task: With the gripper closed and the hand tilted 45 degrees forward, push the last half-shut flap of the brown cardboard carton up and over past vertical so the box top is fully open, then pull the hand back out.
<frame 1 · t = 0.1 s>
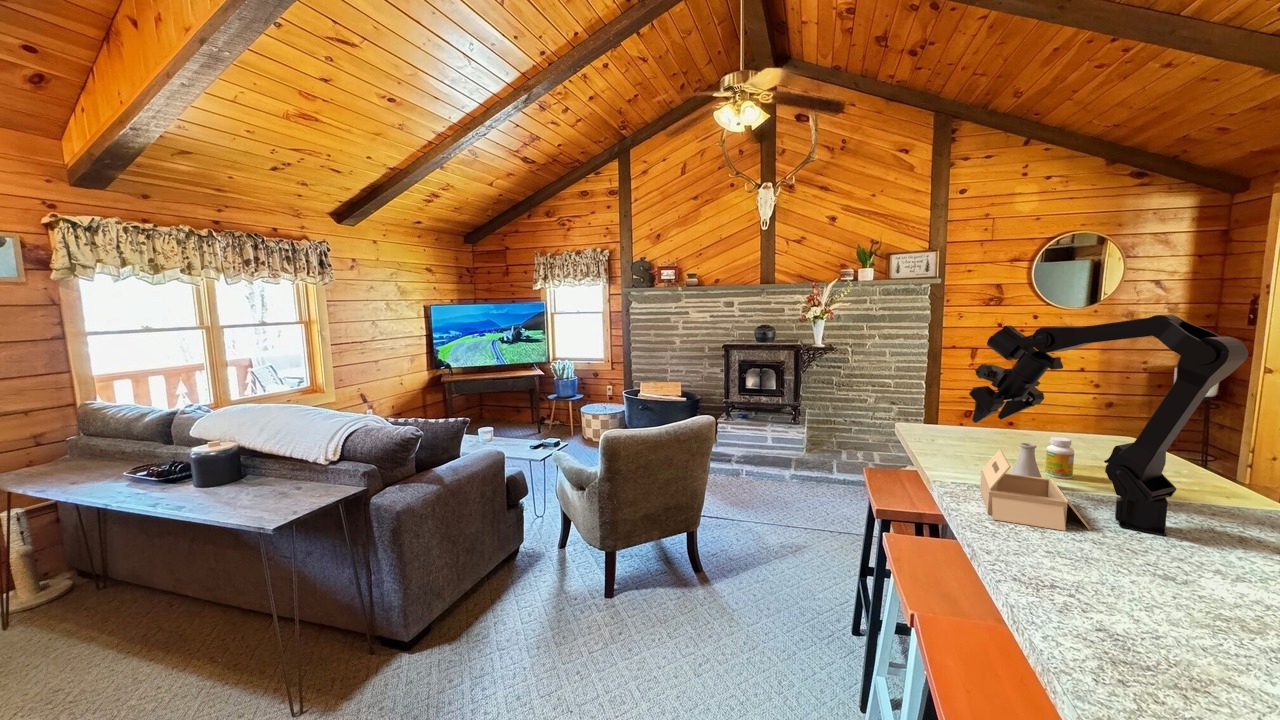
hand: (986, 419, 125), 15 cm above the counter, tool tilted 35°, fingers open, 9 cm apart
foam post: (992, 494, 115), resting in carton
flask: (1025, 484, 121), on the counter
carton: (1019, 507, 108), on the counter
supplement bottle: (1058, 476, 126), on the counter
far flap: (995, 468, 109), point 8 cm above the counter, hinge at -30.0°
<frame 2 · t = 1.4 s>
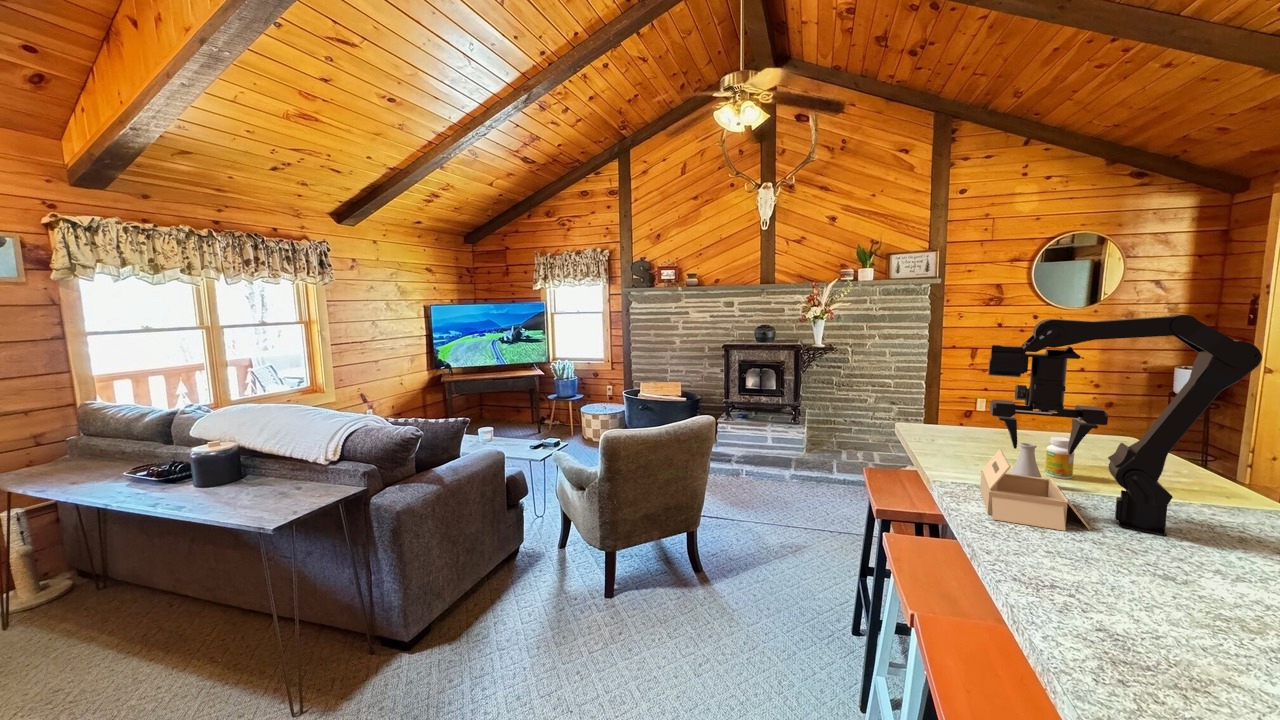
hand: (1041, 451, 105), 13 cm above the counter, tool pointing down, fingers open, 9 cm apart
nothing on the counter moved.
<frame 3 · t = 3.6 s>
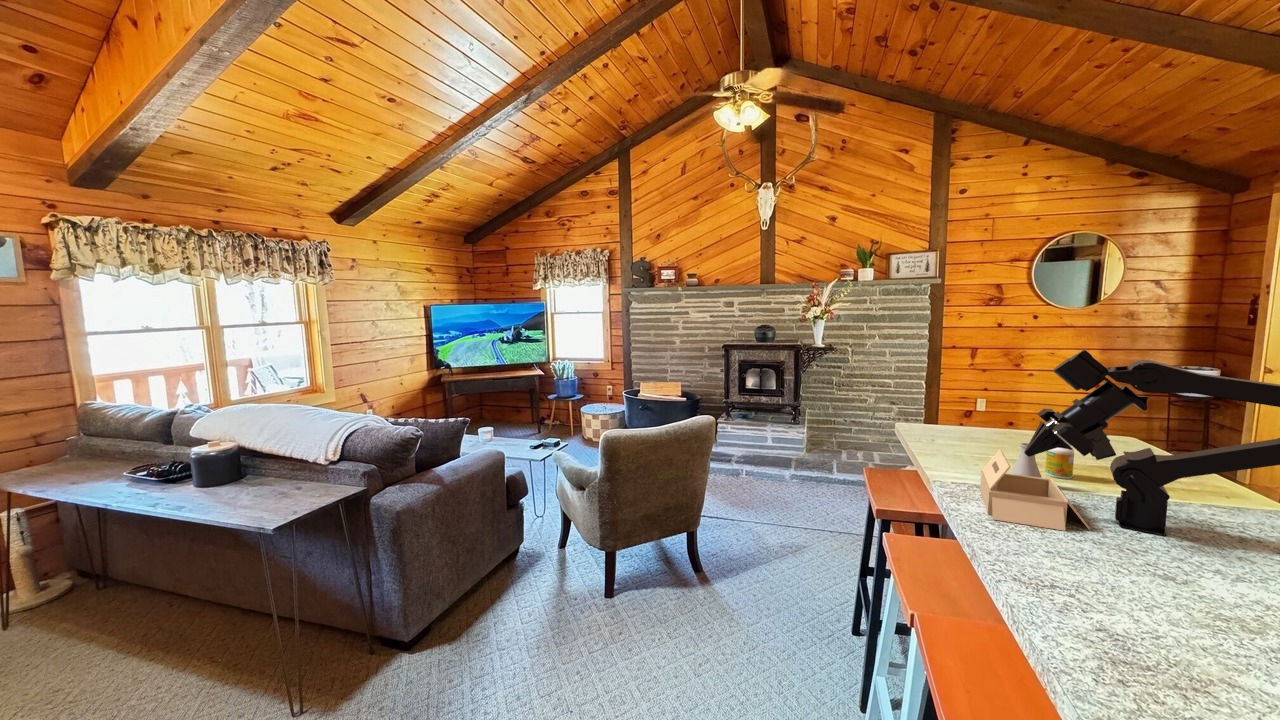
hand: (1026, 454, 106), 12 cm above the counter, tool tilted 45°, fingers closed
nothing on the counter moved.
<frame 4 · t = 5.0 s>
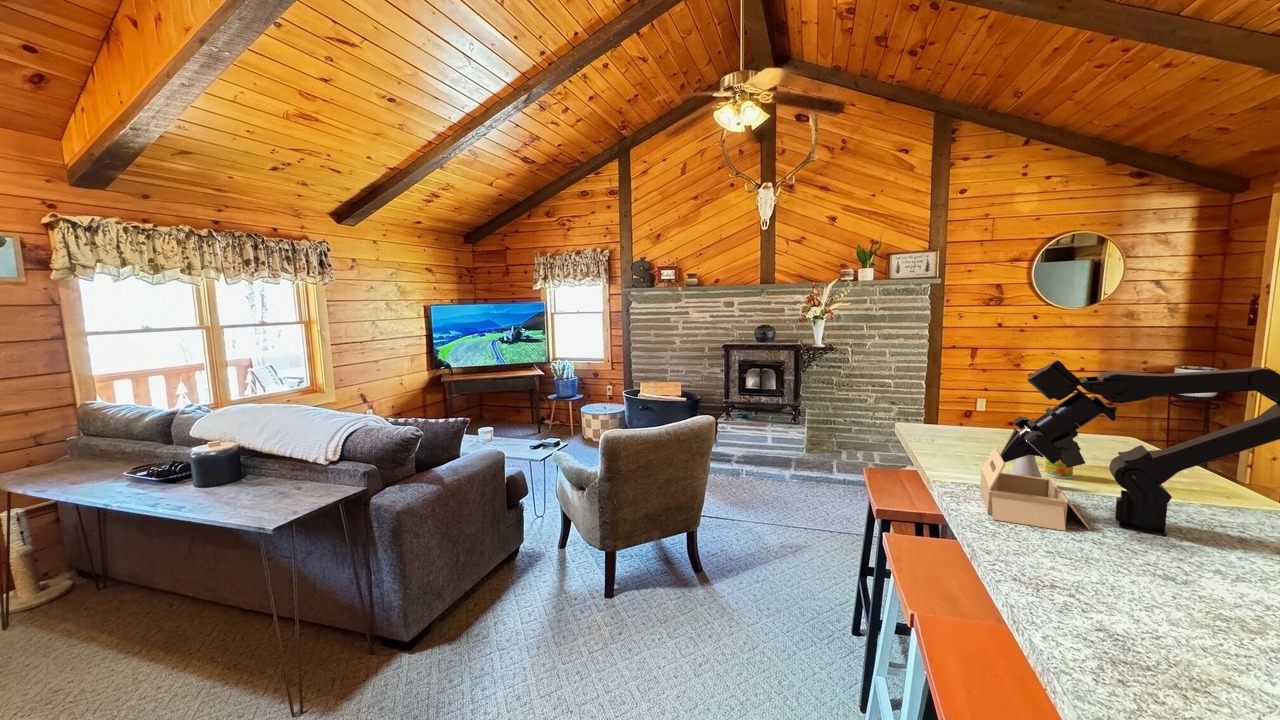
hand: (999, 461, 109), 10 cm above the counter, tool tilted 45°, fingers closed, pressing on far flap
far flap: (992, 467, 109), point 8 cm above the counter, hinge at -20.8°, touching gripper
everything else where it was.
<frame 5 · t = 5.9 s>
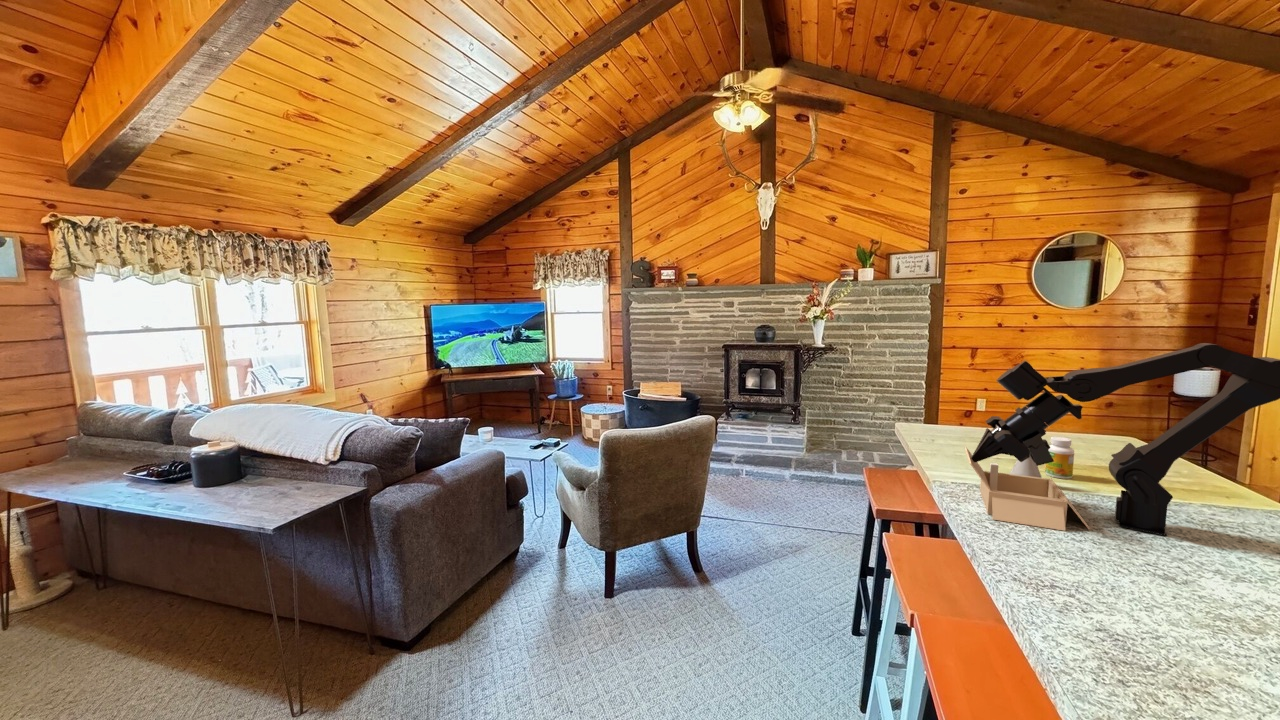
hand: (972, 460, 111), 9 cm above the counter, tool tilted 45°, fingers closed, pressing on far flap
far flap: (976, 466, 111), point 8 cm above the counter, hinge at 34.9°, touching gripper
everything else where it was.
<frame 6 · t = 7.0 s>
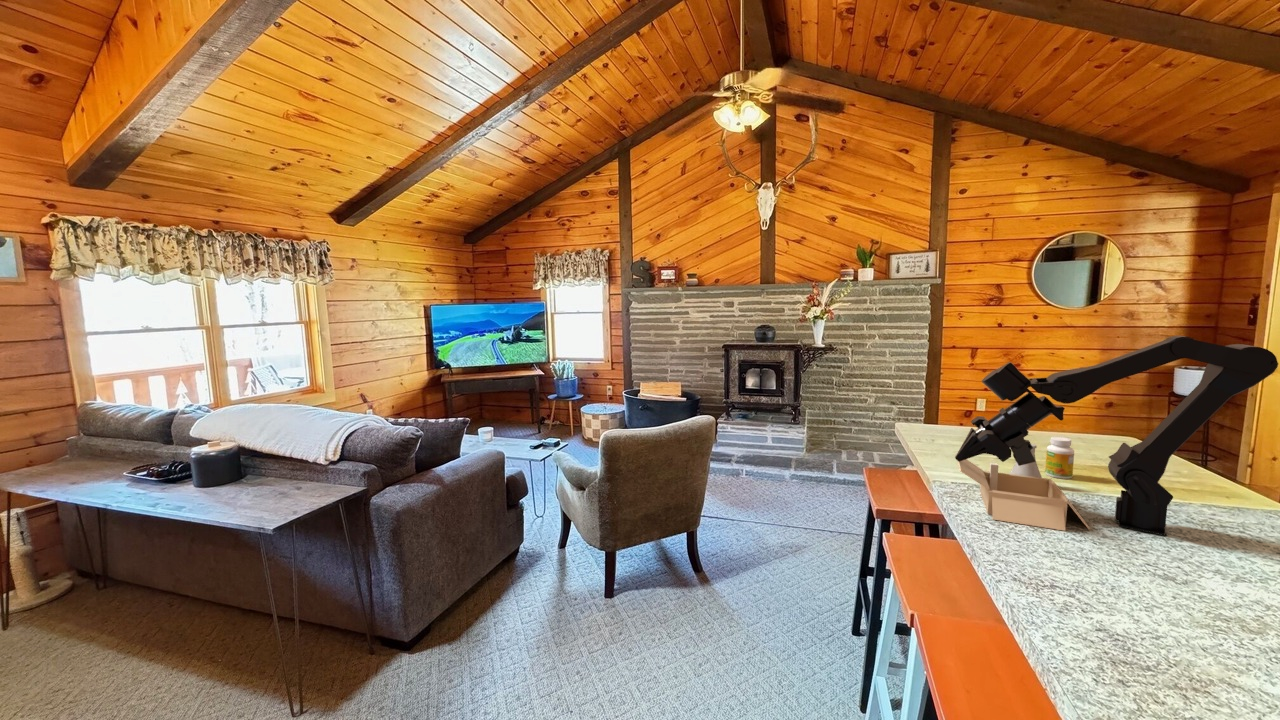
hand: (956, 459, 113), 9 cm above the counter, tool tilted 45°, fingers closed
far flap: (971, 470, 111), point 7 cm above the counter, hinge at 57.6°
everything else where it was.
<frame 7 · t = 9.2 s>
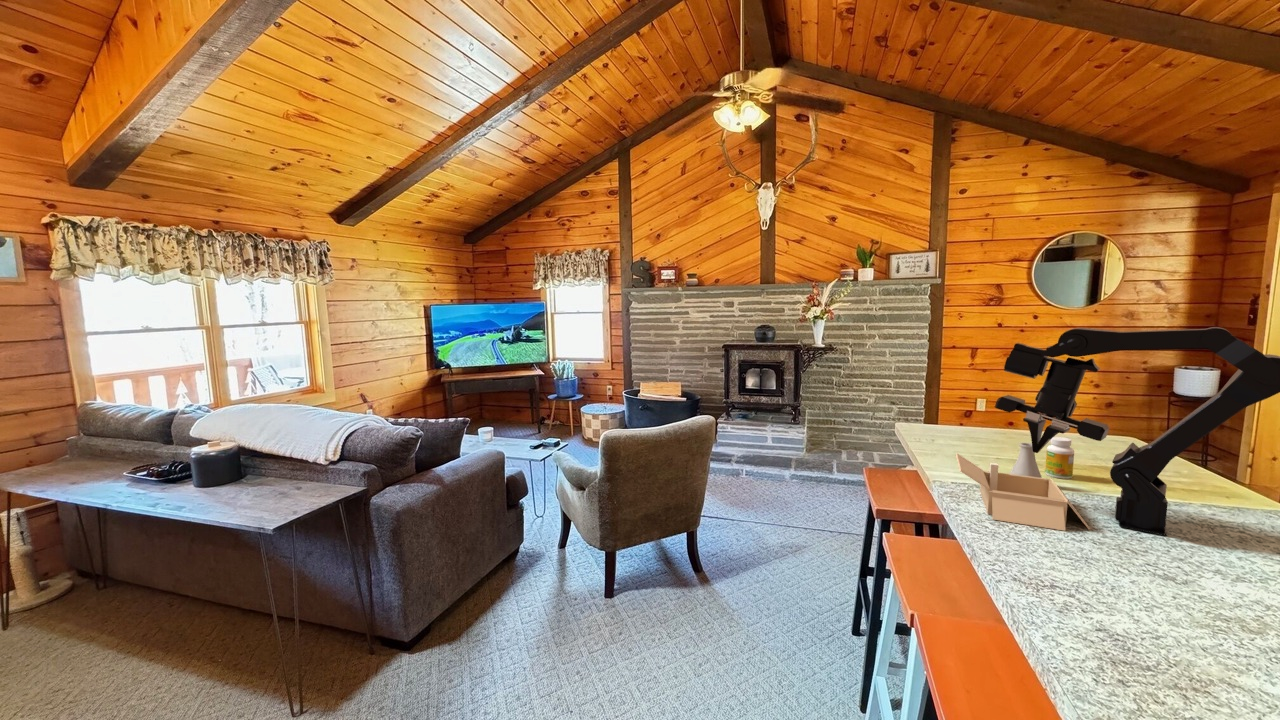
hand: (1035, 452, 109), 12 cm above the counter, tool pointing down, fingers closed
nothing on the counter moved.
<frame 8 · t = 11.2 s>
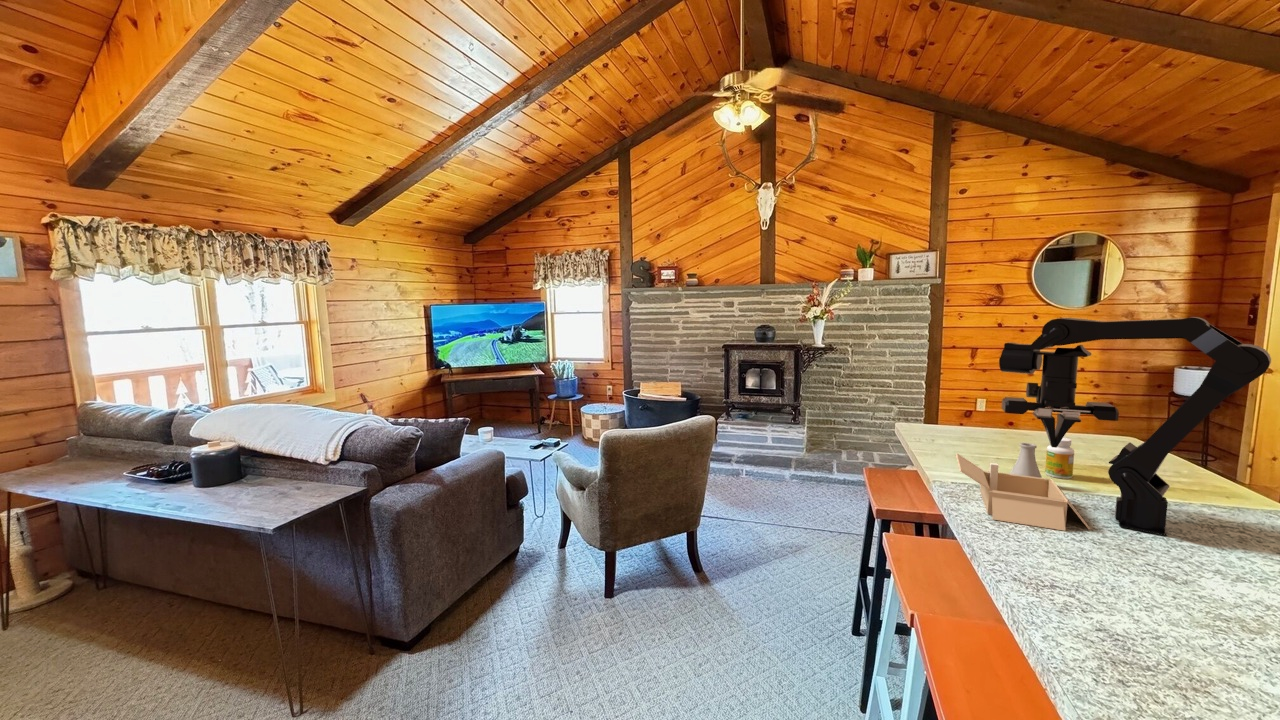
hand: (1053, 446, 108), 13 cm above the counter, tool pointing down, fingers closed
nothing on the counter moved.
at the end: far flap at +58° (first picture: -30°) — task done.
